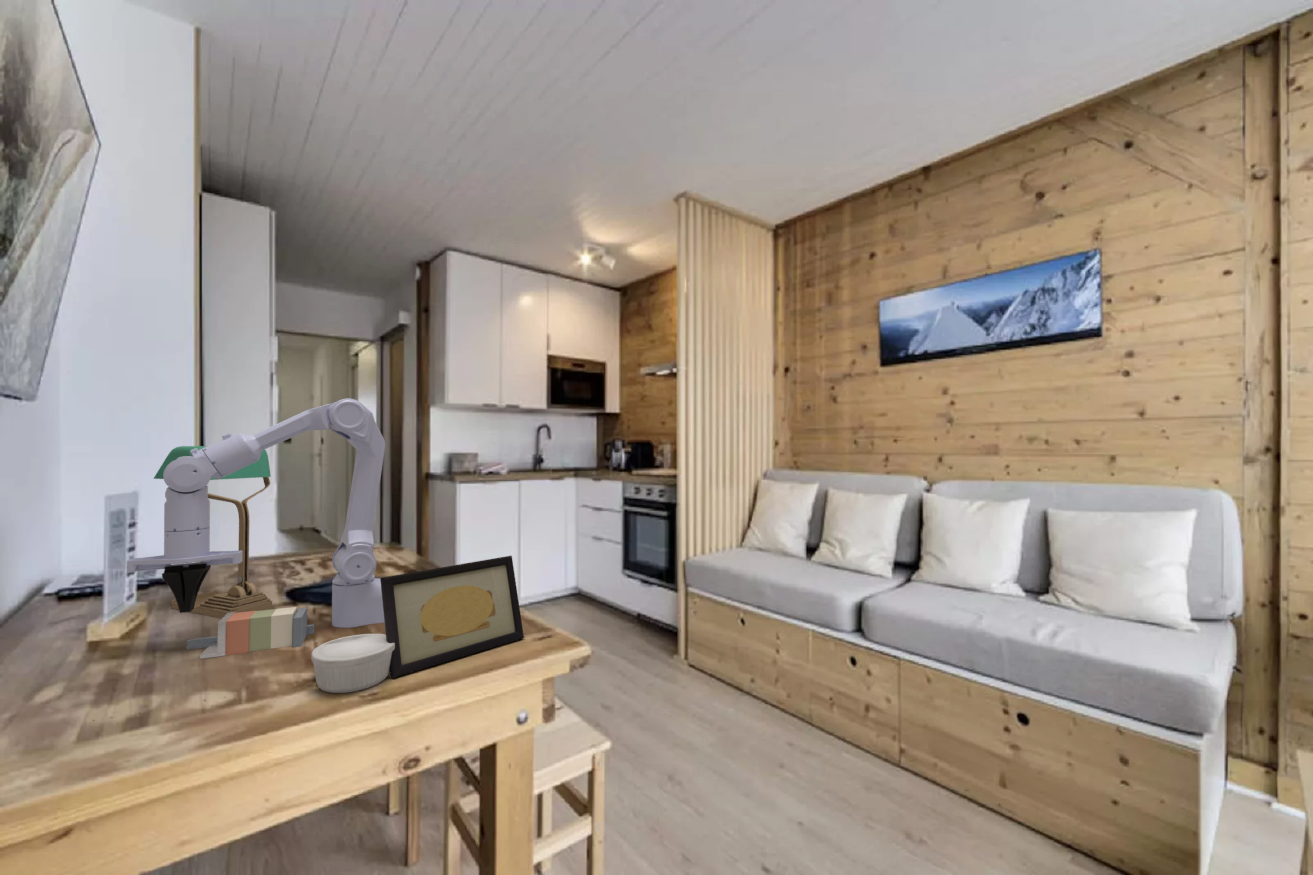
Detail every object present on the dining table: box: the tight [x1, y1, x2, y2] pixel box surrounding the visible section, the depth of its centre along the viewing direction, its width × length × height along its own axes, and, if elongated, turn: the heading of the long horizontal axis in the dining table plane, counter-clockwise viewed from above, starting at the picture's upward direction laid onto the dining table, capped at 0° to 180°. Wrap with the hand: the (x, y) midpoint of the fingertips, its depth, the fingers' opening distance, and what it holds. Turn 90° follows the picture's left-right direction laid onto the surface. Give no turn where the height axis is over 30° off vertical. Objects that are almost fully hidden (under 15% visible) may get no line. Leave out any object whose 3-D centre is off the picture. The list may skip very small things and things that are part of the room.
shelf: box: [186, 606, 315, 651], centre depth 90 cm, size 18×8×6 cm, turn 116°
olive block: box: [248, 608, 277, 653], centre depth 91 cm, size 3×4×6 cm
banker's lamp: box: [153, 445, 273, 619], centre depth 116 cm, size 16×21×35 cm
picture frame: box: [379, 555, 525, 679], centre depth 93 cm, size 23×9×15 cm, turn 137°
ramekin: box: [310, 633, 395, 694], centre depth 81 cm, size 11×11×5 cm
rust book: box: [225, 611, 255, 656], centre depth 90 cm, size 3×5×6 cm, turn 26°
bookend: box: [199, 612, 235, 660], centre depth 89 cm, size 3×6×6 cm, turn 26°
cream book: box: [271, 606, 298, 650], centre depth 93 cm, size 3×4×6 cm
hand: (186, 610), depth 89 cm, fingers closed
